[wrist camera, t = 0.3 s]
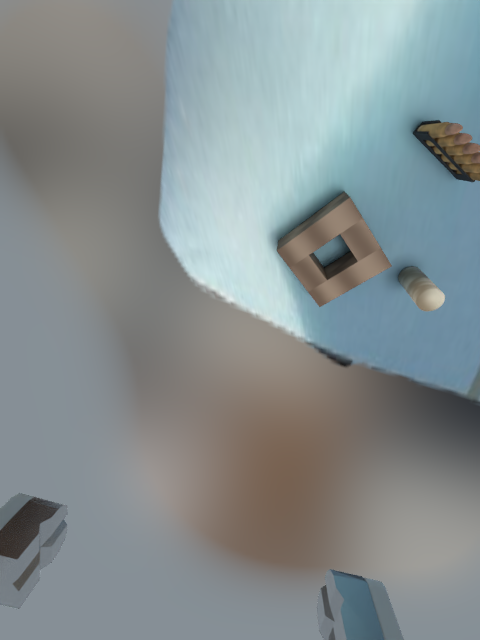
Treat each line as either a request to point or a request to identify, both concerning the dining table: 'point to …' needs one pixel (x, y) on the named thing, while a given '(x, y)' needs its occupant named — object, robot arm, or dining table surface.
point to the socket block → (347, 269)
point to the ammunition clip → (451, 148)
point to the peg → (421, 289)
